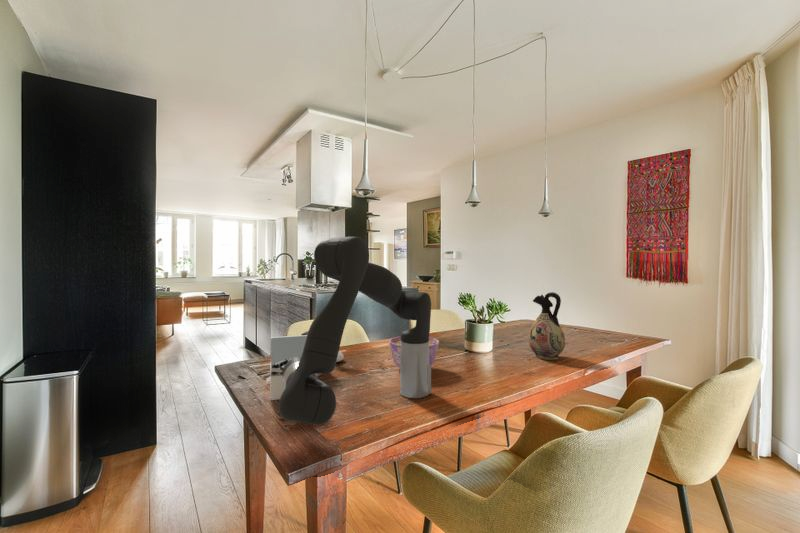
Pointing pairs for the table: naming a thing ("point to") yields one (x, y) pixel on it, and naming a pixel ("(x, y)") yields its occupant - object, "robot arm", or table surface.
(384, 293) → the robot arm
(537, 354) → the ceramic jug
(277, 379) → the crate
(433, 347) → the purple patterned bowl
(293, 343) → the lid
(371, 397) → the table surface
